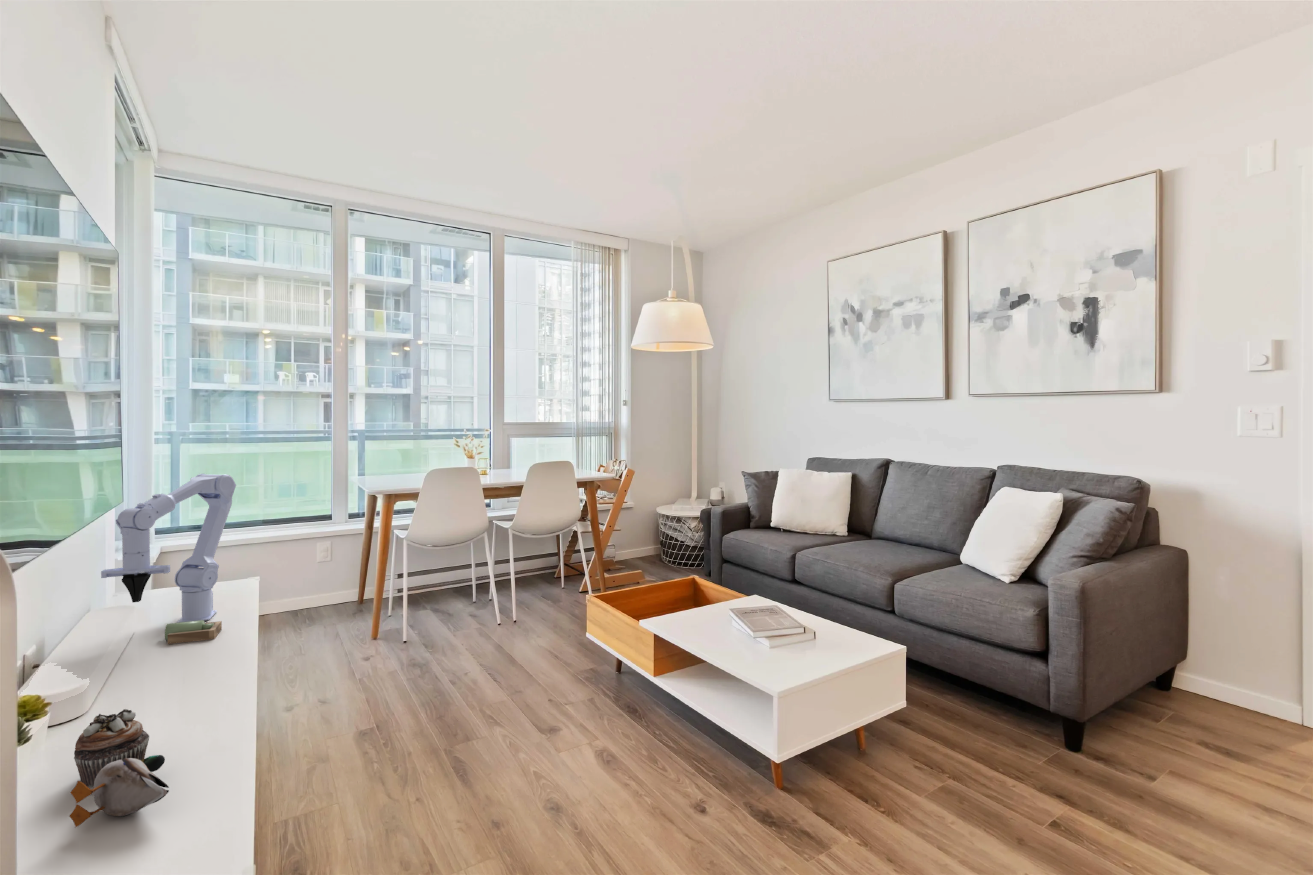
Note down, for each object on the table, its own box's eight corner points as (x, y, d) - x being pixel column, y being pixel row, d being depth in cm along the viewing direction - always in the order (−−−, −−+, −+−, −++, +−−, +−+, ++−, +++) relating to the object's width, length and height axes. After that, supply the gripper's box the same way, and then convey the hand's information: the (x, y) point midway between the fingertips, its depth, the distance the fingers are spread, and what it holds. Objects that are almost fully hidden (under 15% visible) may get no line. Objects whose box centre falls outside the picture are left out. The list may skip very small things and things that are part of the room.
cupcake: (69, 797, 98) (68, 734, 98) (79, 769, 106) (79, 711, 105) (147, 777, 103) (146, 718, 103) (151, 752, 111) (151, 697, 111)
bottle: (170, 622, 171) (215, 618, 175) (169, 639, 170) (214, 634, 174) (165, 624, 167) (211, 619, 171) (164, 641, 166) (210, 635, 170)
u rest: (177, 634, 172) (177, 625, 172) (221, 629, 177) (221, 621, 176) (167, 644, 165) (167, 634, 165) (214, 638, 169) (214, 629, 169)
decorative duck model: (142, 735, 105) (225, 735, 104) (140, 781, 104) (224, 782, 103) (49, 776, 90) (145, 777, 89) (46, 830, 89) (143, 832, 88)
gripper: (96, 557, 162) (96, 608, 162) (164, 552, 167) (164, 602, 168) (107, 551, 168) (107, 601, 168) (172, 547, 174) (172, 595, 174)
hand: (136, 601), depth 168 cm, fingers closed
